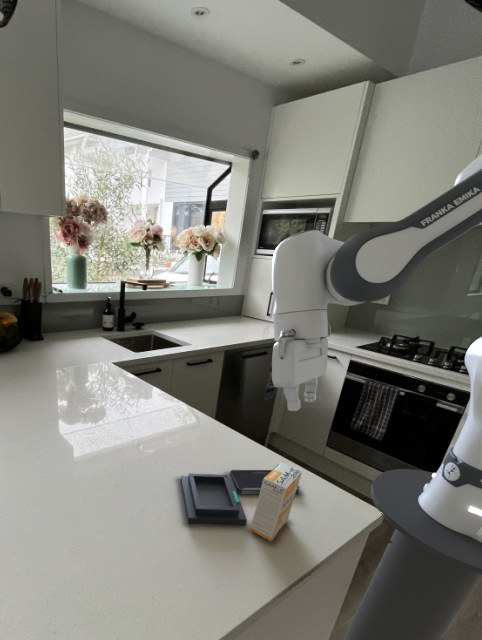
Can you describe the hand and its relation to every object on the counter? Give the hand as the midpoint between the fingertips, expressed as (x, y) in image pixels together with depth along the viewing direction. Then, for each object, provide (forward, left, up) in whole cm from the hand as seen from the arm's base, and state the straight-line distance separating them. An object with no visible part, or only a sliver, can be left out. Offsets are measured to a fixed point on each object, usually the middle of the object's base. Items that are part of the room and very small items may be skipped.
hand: (302, 405), depth 69 cm
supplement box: (+2, +3, -27) cm, 27 cm away
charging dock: (+13, -4, -26) cm, 30 cm away
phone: (-1, -11, -26) cm, 29 cm away
